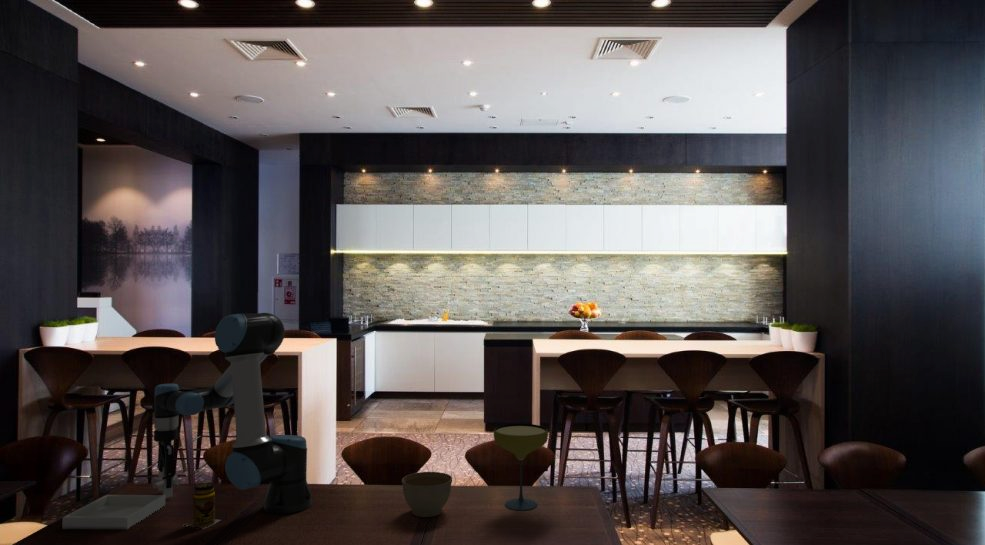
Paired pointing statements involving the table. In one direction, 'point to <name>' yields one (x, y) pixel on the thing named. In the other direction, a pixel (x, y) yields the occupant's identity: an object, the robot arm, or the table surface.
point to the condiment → (204, 505)
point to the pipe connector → (159, 482)
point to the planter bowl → (427, 492)
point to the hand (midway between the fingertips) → (165, 493)
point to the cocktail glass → (520, 452)
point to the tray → (114, 512)
